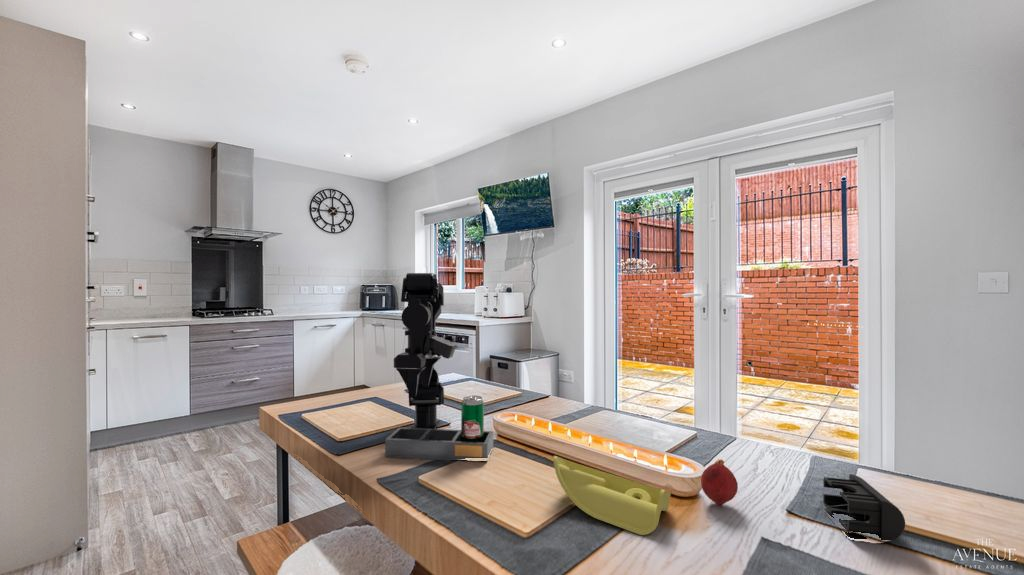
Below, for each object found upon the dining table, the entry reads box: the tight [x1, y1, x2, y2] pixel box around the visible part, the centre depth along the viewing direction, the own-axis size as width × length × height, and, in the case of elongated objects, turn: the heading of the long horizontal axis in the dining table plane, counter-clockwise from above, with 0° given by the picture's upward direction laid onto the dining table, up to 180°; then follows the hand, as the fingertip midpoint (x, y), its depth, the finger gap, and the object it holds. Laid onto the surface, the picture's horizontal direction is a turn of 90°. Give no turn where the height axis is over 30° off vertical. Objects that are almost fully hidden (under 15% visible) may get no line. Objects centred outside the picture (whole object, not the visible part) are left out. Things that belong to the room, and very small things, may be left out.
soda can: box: [460, 395, 485, 442], centre depth 101 cm, size 5×5×12 cm
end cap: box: [822, 473, 906, 541], centre depth 71 cm, size 10×7×7 cm
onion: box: [700, 458, 739, 506], centre depth 79 cm, size 6×6×8 cm
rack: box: [384, 427, 494, 461], centre depth 102 cm, size 8×23×4 cm, turn 83°
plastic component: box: [552, 455, 672, 536], centre depth 78 cm, size 20×7×10 cm
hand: (420, 391), depth 106 cm, fingers open, 9 cm apart
